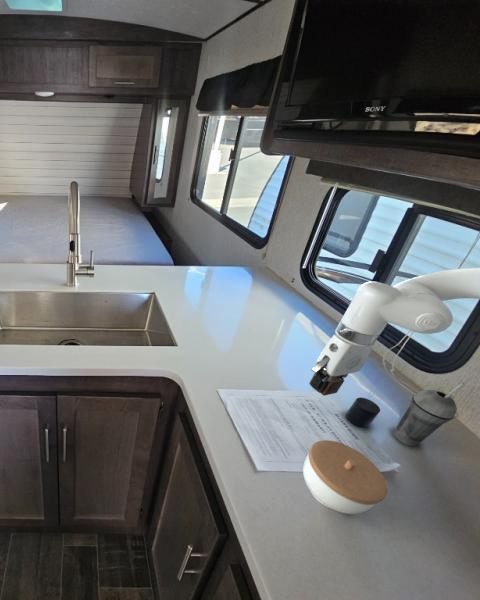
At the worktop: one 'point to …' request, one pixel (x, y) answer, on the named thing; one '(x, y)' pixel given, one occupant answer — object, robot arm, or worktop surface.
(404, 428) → the beverage cup
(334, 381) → the walnut block
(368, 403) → the black cylinder
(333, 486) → the lidded bowl
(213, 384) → the worktop surface
